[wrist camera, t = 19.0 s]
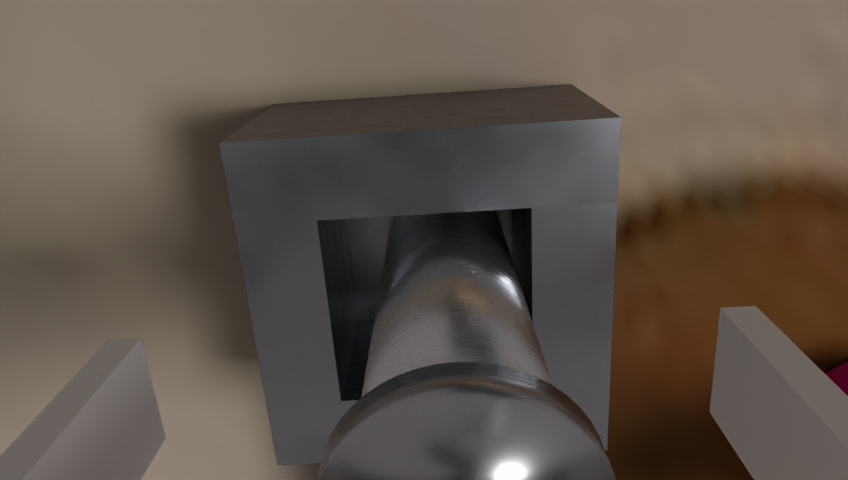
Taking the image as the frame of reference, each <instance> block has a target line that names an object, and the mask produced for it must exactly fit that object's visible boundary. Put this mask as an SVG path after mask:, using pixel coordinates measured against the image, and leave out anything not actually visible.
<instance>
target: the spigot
mask: <svg viewBox="0 0 848 480" xmlns="http://www.w3.org/2000/svg"><path fill="white" fill-rule="evenodd" d="M317 480H616V477H615V474H614V472H613V469H612V467H611V464H610V462H609V459H608V457H607V454H606V452H605V449H604V446H603V444H602V441H601V439H600V436H599V434H598V432H597V431H596V429H595V427H594V425H593V424H592V422H591V420H590V419H589V418H588V417H587V415H586V414H585V413H584V412H583V410H582V409H581V408H580V407H579V406H578V405H577V404H576V403H575V402H574V401H573V400H572V399H571V398H570V397H568V396H567V395H566V394H565V393H563V392H562V391H560V390H559V389H558V388H556V387H555V386H553V385H552V382H551V379H550V376H549V372H548V369H547V366H546V363H545V360H544V357H543V354H542V351H541V348H540V345H539V341H538V338H537V335H536V332H535V329H534V326H533V323H532V320H531V317H530V313H529V310H528V307H527V304H526V301H525V298H524V295H523V292H522V289H521V285H520V282H519V279H518V276H517V273H516V270H515V267H514V264H513V261H512V258H511V254H510V251H509V248H508V245H507V242H506V239H505V236H504V233H503V230H502V226H501V224H500V221H499V219H498V217H497V215H496V213H495V212H494V211H493V210H487V211H470V212H454V213H437V214H420V215H403V216H395V217H394V219H393V222H392V224H391V227H390V231H389V236H388V242H387V248H386V254H385V260H384V266H383V272H382V278H381V284H380V289H379V295H378V301H377V307H376V313H375V319H374V325H373V331H372V337H371V343H370V349H369V355H368V361H367V367H366V373H365V379H364V385H363V391H362V397H361V398H360V399H359V400H358V401H357V402H356V403H355V404H353V405H352V406H351V407H350V409H349V410H348V411H347V412H346V413H345V414H344V415H343V417H342V418H341V419H340V420H339V422H338V424H337V425H336V427H335V428H334V430H333V431H332V433H331V435H330V437H329V440H328V442H327V444H326V446H325V449H324V453H323V456H322V460H321V464H320V468H319V473H318V477H317Z"/></svg>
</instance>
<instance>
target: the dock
mask: <svg viewBox="0 0 848 480" xmlns="http://www.w3.org/2000/svg"><path fill="white" fill-rule="evenodd" d="M620 126H621V117H620V116H618V115H617V114H615V113H614V112H612V111H611V110H609V109H608V108H606V107H605V106H603V105H602V104H600V103H599V102H597V101H596V100H594V99H593V98H591V97H590V96H588V95H587V94H585V93H584V92H582V91H581V90H579V89H578V88H576V87H575V86H573V85H558V86H543V87H527V88H512V89H497V90H482V91H467V92H452V93H437V94H422V95H406V96H391V97H376V98H361V99H346V100H331V101H316V102H300V103H285V104H273V105H272V106H271V107H269V108H268V109H266V110H265V111H264V112H262V113H261V114H259V115H258V116H257V117H255V118H254V119H252V120H251V121H249V122H248V123H247V124H245V125H244V126H242V127H241V128H240V129H238V130H237V131H235V132H234V133H232V134H231V135H230V136H228V137H227V138H225V139H224V140H223V141H221V142H220V143H219V147H220V152H221V157H222V163H223V168H224V174H225V179H226V185H227V190H228V196H229V201H230V207H231V212H232V218H233V223H234V229H235V234H236V240H237V245H238V251H239V256H240V262H241V267H242V273H243V278H244V284H245V289H246V295H247V300H248V306H249V311H250V317H251V322H252V328H253V333H254V338H255V344H256V349H257V355H258V360H259V366H260V371H261V377H262V382H263V388H264V393H265V399H266V404H267V410H268V415H269V421H270V426H271V432H272V437H273V443H274V448H275V454H276V459H277V465H293V464H315V463H321V460H322V456H323V453H324V449H325V446H326V444H327V442H328V440H329V437H330V435H331V433H332V431H333V430H334V428H335V427H336V425H337V424H338V422H339V420H340V419H341V418H342V417H343V415H344V414H345V413H346V412H347V411H348V410H349V409H350V407H351V406H352V405H353V404H355V403H356V402H357V401H358V400H359V399H360V398H361V397H362V391H363V385H364V379H365V373H366V367H367V361H368V355H369V349H370V343H371V337H372V331H373V325H374V319H375V313H376V307H377V301H378V295H379V289H380V284H381V278H382V272H383V266H384V260H385V254H386V248H387V242H388V236H389V231H390V227H391V224H392V222H393V219H394V217H395V216H403V215H420V214H437V213H454V212H470V211H487V210H493V211H494V212H495V213H496V215H497V217H498V219H499V221H500V224H501V226H502V230H503V233H504V236H505V239H506V242H507V245H508V248H509V251H510V254H511V258H512V261H513V264H514V267H515V270H516V273H517V276H518V279H519V282H520V285H521V289H522V292H523V295H524V298H525V301H526V304H527V307H528V310H529V313H530V317H531V320H532V323H533V326H534V329H535V332H536V335H537V338H538V341H539V345H540V348H541V351H542V354H543V357H544V360H545V363H546V366H547V369H548V372H549V376H550V379H551V382H552V385H553V386H555V387H556V388H558V389H559V390H560V391H562V392H563V393H565V394H566V395H567V396H568V397H570V398H571V399H572V400H573V401H574V402H575V403H576V404H577V405H578V406H579V407H580V408H581V409H582V410H583V412H584V413H585V414H586V415H587V417H588V418H589V419H590V420H591V422H592V424H593V425H594V427H595V429H596V431H597V432H598V434H599V436H600V439H601V441H602V444H603V446H604V449H605V450H607V442H608V417H609V393H610V369H611V344H612V320H613V296H614V272H615V247H616V223H617V199H618V175H619V150H620Z"/></svg>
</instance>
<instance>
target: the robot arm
mask: <svg viewBox="0 0 848 480" xmlns="http://www.w3.org/2000/svg"><path fill="white" fill-rule="evenodd" d="M709 412H710V414H711V415H712V417H713V418H714V420H715V421H716V423H717V424H718V426H719V427H720V429H721V430H722V432H723V433H724V435H725V436H726V438H727V439H728V441H729V442H730V444H731V446H732V447H733V449H734V450H735V452H736V453H737V455H738V456H739V458H740V459H741V461H742V462H743V464H744V465H745V467H746V468H747V470H748V471H749V473H750V474H751V476H752V478H753V479H754V480H848V396H847V395H846V394H845V393H844V392H843V391H842V390H841V389H840V388H839V387H838V386H837V385H836V384H835V383H834V382H833V381H832V380H831V379H830V378H829V377H828V376H827V375H826V374H825V373H824V372H823V371H821V370H820V369H819V368H818V367H817V366H816V365H815V364H814V363H813V362H812V361H811V360H810V359H809V358H808V357H807V356H806V355H805V354H804V353H803V352H802V351H801V350H800V349H799V348H798V347H797V346H796V345H795V344H794V343H793V342H792V341H791V340H790V339H789V338H788V337H787V336H786V335H785V334H784V333H783V332H782V331H781V330H780V329H779V328H777V327H776V326H775V325H774V324H773V323H772V322H771V321H770V320H769V319H768V318H767V317H766V316H765V315H764V314H763V313H762V312H761V311H760V310H759V309H758V308H757V307H756V306H748V307H729V308H720V318H719V327H718V336H717V346H716V355H715V364H714V374H713V383H712V392H711V402H710V411H709ZM165 438H166V437H165V433H164V429H163V425H162V421H161V417H160V413H159V409H158V405H157V401H156V397H155V393H154V389H153V385H152V381H151V378H150V374H149V370H148V366H147V362H146V358H145V354H144V350H143V346H142V342H141V339H127V340H108V341H107V342H106V343H105V344H104V345H103V346H102V347H101V349H100V350H99V351H98V352H97V353H96V354H95V355H94V356H93V357H92V358H91V359H90V360H89V361H88V362H87V364H86V365H85V366H84V367H83V368H82V369H81V370H80V371H79V372H78V373H77V374H76V375H75V376H74V378H73V379H72V380H71V381H70V382H69V383H68V384H67V385H66V386H65V387H64V388H63V389H62V390H61V391H60V393H59V394H58V395H57V396H56V397H55V398H54V399H53V400H52V401H51V402H50V403H49V404H48V405H47V406H46V408H45V409H44V410H43V411H42V412H41V413H40V414H39V415H38V416H37V417H36V418H35V419H34V420H33V422H32V423H31V424H30V425H29V426H28V427H27V428H26V429H25V430H24V431H23V432H22V433H21V434H20V435H19V437H18V438H17V439H16V440H15V441H14V442H13V443H12V444H11V445H10V446H9V447H8V448H7V449H6V450H5V452H4V453H3V454H2V455H1V456H0V480H141V478H142V476H143V475H144V473H145V471H146V470H147V468H148V466H149V465H150V463H151V461H152V460H153V458H154V456H155V455H156V453H157V451H158V450H159V448H160V446H161V445H162V443H163V441H164V440H165Z"/></svg>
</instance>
